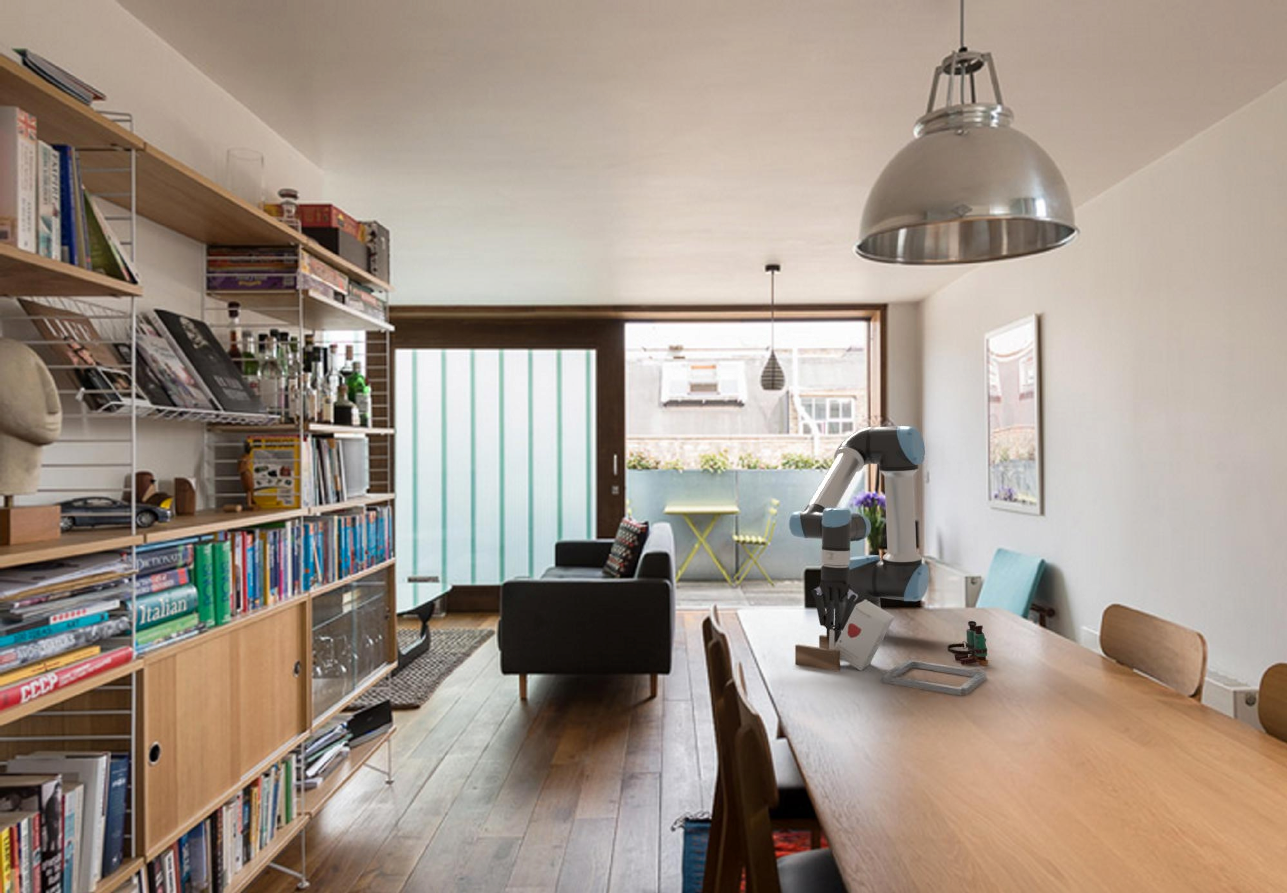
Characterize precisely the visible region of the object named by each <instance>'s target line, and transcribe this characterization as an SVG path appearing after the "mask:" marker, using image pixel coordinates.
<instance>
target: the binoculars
mask: <svg viewBox="0 0 1287 893" xmlns="http://www.w3.org/2000/svg"><path fill="white" fill-rule="evenodd" d="M967 625H968V626H969V628H968V629H966V641H962V643H961V642H960V643H951V644H948V645H947V646H946V647H947V652H949V653H952V654H954V655H953V656H954V660H955V661H957V662H960V665H968V664H973V663H976V664H979V665H982V666H983V665H989V661H988V659H987V656H988V648H987V645H986V644H987V638H986V637H985V633H984V632H983V625H977V622H976V621H974V620H969V621H967ZM953 648H962V649H963V650H956V649H953ZM966 649H967V650H966Z"/></svg>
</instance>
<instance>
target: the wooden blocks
mask: <svg viewBox="0 0 1287 893" xmlns="http://www.w3.org/2000/svg"><path fill="white" fill-rule="evenodd" d="M826 637H827V634H820V635H819V636H818V640H819V641H818V642H819V644H818V646H812V645H806V644H799V643H798V644H795V646H794V647H795V653H794V655H795V656H794V657H795V659H794V660H795V665H799V666H805V667H811V668H817V669H822V670H829V671H833V672H839V671H840V670H841V658H840V651H839V650H832V649H829V641H827V639H826Z"/></svg>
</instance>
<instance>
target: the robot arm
mask: <svg viewBox="0 0 1287 893" xmlns="http://www.w3.org/2000/svg"><path fill="white" fill-rule="evenodd" d="M925 448H926V447H925V442H924V439H923V436H922V434H921V432H920V431H919V429H918V428H916V427H914V426H905V425H897V426H895V425H893V426H868V427H863V428H860V429H859V430H857V431H855V432H853V433H852V434H850V435H849V436H848V437H846V438H845V439H844V440H843V441H842V442H841V444H839V446H838V447H837V449H836V450H835V452H834V455H833V460H834V461H833V462H832V464H831V465H830V467H829V469H828V471H827V472H826V473H825V476H824V477H823V479H822V480H821V482H820V484H819V486H818V487H817V489H816V490H815V492H814V494H813V496H812V497H811V499H810V500H809V502H808V504H807V505H806V506H805V509H804V510H803V511H802V510H799V511H794V512H792V513H791V515H790V517H789V522H788V523H789V524H788V527H789V530H790V532H791V533H790V534H792V535H793V537H798V538H804V539H815V540H817V539H819V540H821V556H820V557H821V559H820V560H821V564H822V565H821V567H820V583H819V586H817V587H816V588H813V589H812V590H811V594H812V596H813V598H814V600H815V606H816V610H817V611H816V612H817V616H818V620H819V625H820V626H822V627H824V628H825V629H826V635H827V637H826V639H827V641H829V649H832V650H833V649H834V647H835V645H836V643H837V641H838V639H839V637H840V635H841V633H842V631H843V629H844V627H845V625H846V623H847V621H848V619H849V617H850V615H851V613H852V611H853V609H854V607H855V606H856V604H858V603H860V602H862V601H864V600H867V601H869V602H871V603H872V604H874V605H876V606H878V607H879V608H881V609H882V607H881V599H888V600H889V599H890V600H899V601H904V602H918V601H921V600H922V599H923V597H924V596H925V595H926V593H927V590H928V587H929V583H930V576H931V575H930V569H929V568H930V567H929V565H927V564H926V563H923V558H922V556H921V554H920V553H918V552H917V537H916V536H917V535H916V534H917V533H916V532H917V531H916V512H915V511H916V510H915V487H914V486H915V485H914V484H915V481H914V475H915V474H916V473H917V472H918V471H919V465H922V464H923V463H924V461H925V455H926V450H925ZM871 464H873V465H878V471H879V472H880V473H881V474H882V475H883V478H884V495H885V496H884V499H885V524H886V544H887V546H886V548H887V552H886V553H885V554H884V555H883V556H882V560H881V556H880V555H878V554H877V555H875V554H869V555H858V556H857V555H856V556H852V557H851V542H859V541H861V540H865V539H866V538H867V537H869V535H870V534H871V530H872V525H871V524H872V523H871V520H870V519H869V518H868V517H867V516H866V515H864V514H863V513H852V512H851V510H850V509H848V508H846V507H845V508H844V507H838V505H839V503H840V502H841V500H842V498H843V496H844V495H845V493H846V491H847V490H848V488H849V486H850V484H851V482H852V480H853V479H854V477H855V475H856V474H857V473H858V472H860V471H861V470H862V469H863V468H864V466H867V465H871ZM823 595H824V597H825V600H824V597H823ZM824 601H825V602H824ZM825 604H826V605H825ZM825 606H826V607H825Z"/></svg>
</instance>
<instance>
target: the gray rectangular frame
mask: <svg viewBox="0 0 1287 893" xmlns="http://www.w3.org/2000/svg"><path fill="white" fill-rule="evenodd" d="M913 668H914V669H922V670H928V671H934V672H938V673H939V672H940V673H947V674H952V675H957V676H958V675H959V676H966V677H971V678H970V679H968V680H966V681H965V683H963V684H962V685H960V686H953V685H947V684H941V683H935V682H930V681H923V680H919V679H918V680H917V679H911V678H906V677H899V676H900V675H902V674H903V673H905V672H907V671H909V670H910V669H913ZM986 680H987V672H986V671H985V670H979V669H973V668H972V669H971V668H966V667H959V666H953V665H945V664H940V663H934V662H928V661H921V660H914V659H911V660H905V661H903V662H902V663H900V664H898V665H896V666H895V667H893V668H891V669H889V670H887V671H886V672H884V673H882V674H881V681H882V683H883V684H884V683H885V684H891V685H894V686H902V687H906V686H907V687H908V688H913V689H917V690H924V691H931V692H936V693H943V694H946V695H947V694H949V695H952V694H953V695H954V696H958V695H960V696H959V697H961V696H963V695H965V696H967V695H969V693H971V692H972V691H973V690H974V689H976V688H977V687H979V685H981V684H982V683H984V682H985V681H986Z"/></svg>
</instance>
